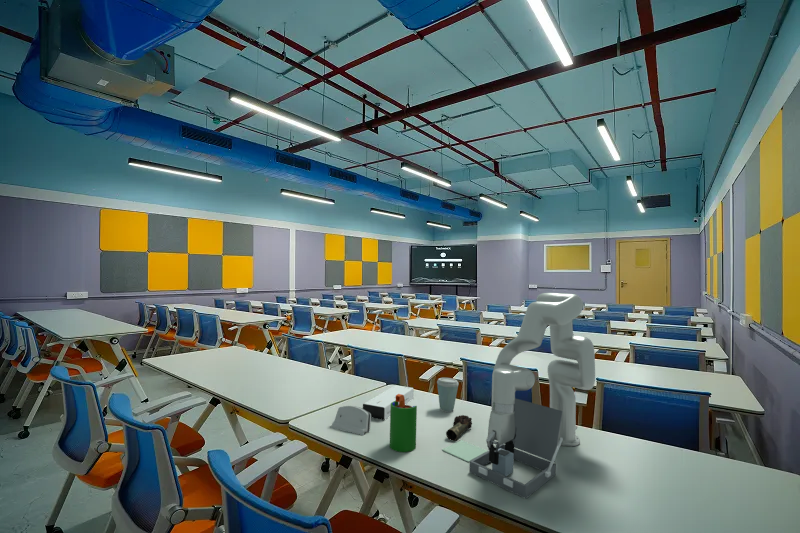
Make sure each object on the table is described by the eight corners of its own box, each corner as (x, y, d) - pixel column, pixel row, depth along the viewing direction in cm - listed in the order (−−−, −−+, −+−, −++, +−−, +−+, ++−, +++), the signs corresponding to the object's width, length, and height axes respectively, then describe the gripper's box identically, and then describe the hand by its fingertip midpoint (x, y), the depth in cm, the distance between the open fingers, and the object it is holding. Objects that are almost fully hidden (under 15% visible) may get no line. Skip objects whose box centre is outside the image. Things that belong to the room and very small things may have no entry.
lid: (503, 443, 137) (504, 443, 137) (553, 462, 123) (554, 462, 124) (512, 397, 141) (513, 397, 142) (562, 411, 128) (563, 411, 128)
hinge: (330, 427, 158) (336, 402, 161) (337, 427, 161) (342, 403, 165) (363, 435, 150) (368, 409, 153) (369, 435, 154) (374, 410, 157)
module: (500, 465, 128) (500, 447, 128) (513, 471, 124) (513, 452, 124) (492, 470, 124) (492, 451, 125) (505, 476, 121) (505, 457, 121)
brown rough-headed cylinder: (457, 442, 146) (457, 428, 146) (441, 438, 150) (441, 424, 150) (474, 427, 161) (474, 414, 161) (460, 424, 164) (460, 411, 165)
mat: (461, 441, 147) (461, 440, 147) (487, 451, 138) (487, 450, 138) (442, 450, 138) (442, 449, 138) (468, 462, 130) (468, 461, 130)
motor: (419, 444, 143) (419, 392, 143) (409, 454, 135) (410, 398, 135) (395, 439, 147) (396, 388, 148) (384, 448, 139) (385, 394, 139)
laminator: (384, 421, 166) (384, 407, 166) (360, 416, 171) (360, 403, 171) (413, 399, 197) (413, 387, 197) (392, 396, 202) (392, 384, 202)
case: (506, 450, 139) (506, 419, 140) (563, 472, 124) (563, 437, 124) (468, 472, 123) (468, 437, 123) (528, 501, 108) (528, 460, 108)
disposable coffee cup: (443, 404, 189) (443, 374, 189) (462, 409, 182) (462, 378, 183) (432, 410, 180) (432, 379, 180) (452, 415, 174) (452, 383, 174)
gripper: (506, 399, 134) (505, 447, 133) (478, 409, 122) (477, 462, 121) (526, 404, 128) (524, 455, 127) (498, 415, 116) (497, 471, 115)
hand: (501, 458), depth 124 cm, fingers open, 9 cm apart
